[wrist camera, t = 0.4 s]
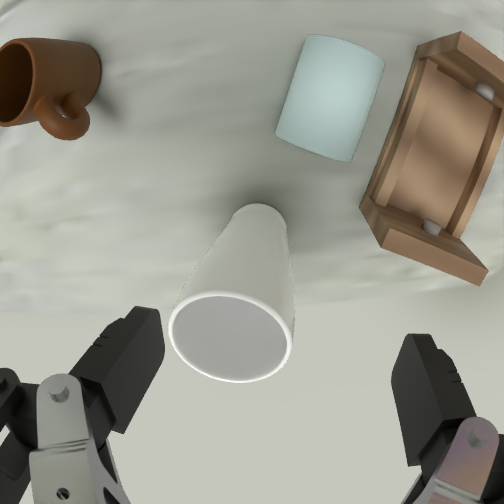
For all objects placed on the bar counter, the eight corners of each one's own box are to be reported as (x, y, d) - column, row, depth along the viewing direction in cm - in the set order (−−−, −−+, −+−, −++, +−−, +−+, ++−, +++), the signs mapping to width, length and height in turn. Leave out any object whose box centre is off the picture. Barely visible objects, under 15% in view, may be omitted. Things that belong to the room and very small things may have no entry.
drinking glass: (308, 213, 28) (319, 324, 15) (275, 271, 31) (260, 397, 18) (238, 181, 27) (185, 267, 14) (211, 243, 30) (154, 356, 17)
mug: (148, 92, 24) (87, 96, 16) (103, 154, 27) (40, 181, 19) (74, 30, 21) (8, 23, 13) (38, 89, 24) (-27, 99, 16)
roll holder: (417, 45, 19) (461, 31, 12) (501, 99, 19) (554, 108, 12) (359, 207, 27) (380, 247, 20) (443, 242, 27) (479, 286, 20)
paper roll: (305, 40, 21) (309, 24, 16) (374, 66, 21) (397, 58, 16) (275, 133, 25) (271, 142, 20) (343, 157, 25) (356, 172, 20)
